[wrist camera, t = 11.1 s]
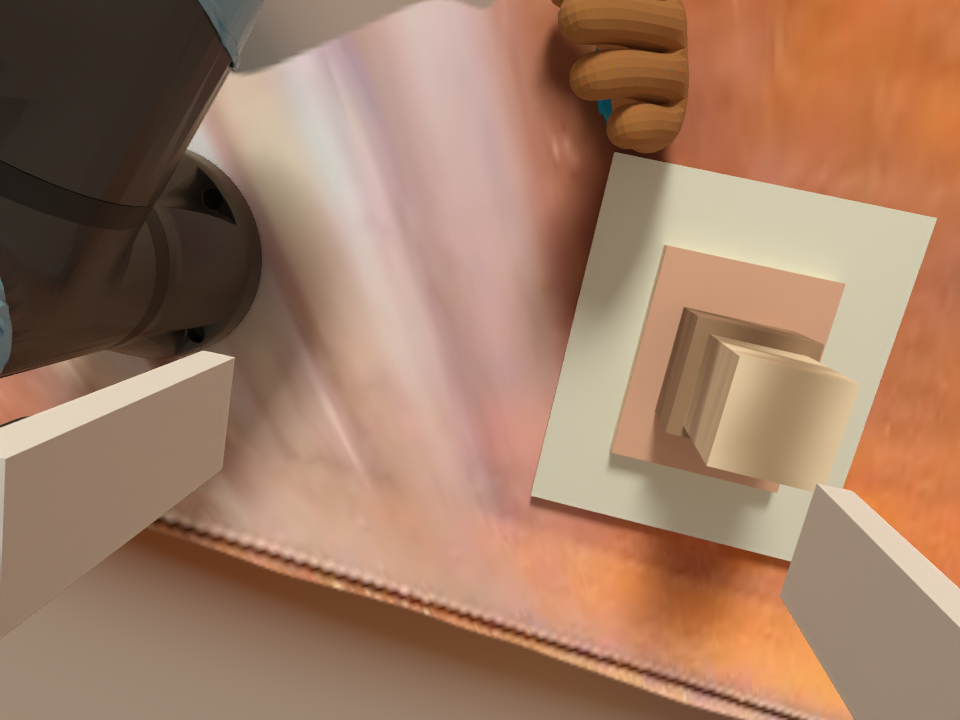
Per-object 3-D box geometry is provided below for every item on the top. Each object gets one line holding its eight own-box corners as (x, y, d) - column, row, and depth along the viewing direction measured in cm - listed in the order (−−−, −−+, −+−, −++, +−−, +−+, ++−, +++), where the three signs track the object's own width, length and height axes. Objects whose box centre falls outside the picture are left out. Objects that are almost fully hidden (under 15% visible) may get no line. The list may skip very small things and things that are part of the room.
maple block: (683, 425, 39) (706, 466, 32) (709, 333, 38) (739, 356, 31) (778, 448, 39) (822, 494, 32) (808, 356, 38) (860, 384, 31)
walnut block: (655, 410, 44) (665, 432, 40) (683, 306, 43) (698, 316, 38) (762, 436, 44) (786, 461, 39) (795, 331, 42) (824, 344, 37)
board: (531, 490, 49) (529, 504, 47) (613, 153, 44) (616, 149, 42) (809, 560, 47) (822, 578, 45) (928, 218, 42) (950, 217, 40)
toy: (543, -15, 43) (529, -141, 28) (654, -45, 42) (700, -194, 27) (578, 177, 45) (582, 151, 30) (685, 153, 44) (743, 114, 29)
